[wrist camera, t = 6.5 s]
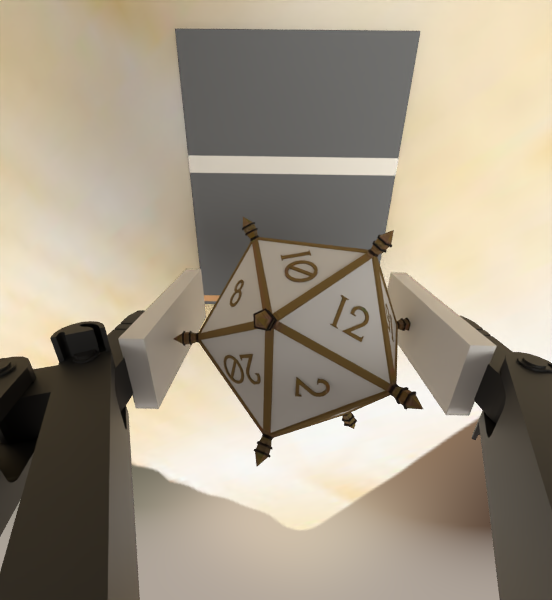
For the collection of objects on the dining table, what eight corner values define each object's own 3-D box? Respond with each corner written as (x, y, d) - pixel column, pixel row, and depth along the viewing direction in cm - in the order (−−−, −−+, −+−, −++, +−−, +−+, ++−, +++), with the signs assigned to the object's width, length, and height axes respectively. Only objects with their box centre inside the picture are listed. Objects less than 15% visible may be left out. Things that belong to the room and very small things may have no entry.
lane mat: (177, 31, 19) (174, 27, 18) (417, 33, 19) (421, 30, 18) (204, 301, 27) (203, 304, 27) (371, 305, 27) (372, 307, 27)
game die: (290, 298, 19) (228, 456, 14) (216, 190, 14) (70, 387, 9) (442, 296, 14) (431, 540, 9) (425, 124, 9) (370, 507, 4)
